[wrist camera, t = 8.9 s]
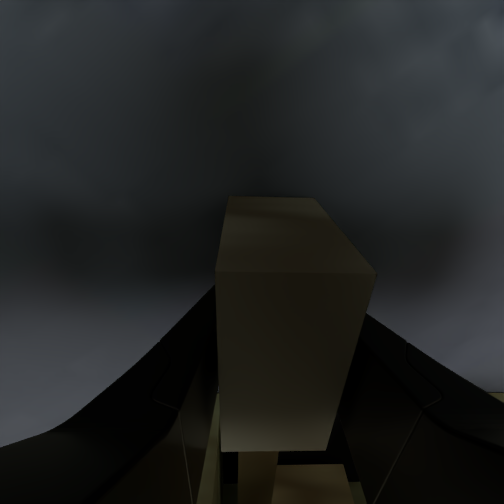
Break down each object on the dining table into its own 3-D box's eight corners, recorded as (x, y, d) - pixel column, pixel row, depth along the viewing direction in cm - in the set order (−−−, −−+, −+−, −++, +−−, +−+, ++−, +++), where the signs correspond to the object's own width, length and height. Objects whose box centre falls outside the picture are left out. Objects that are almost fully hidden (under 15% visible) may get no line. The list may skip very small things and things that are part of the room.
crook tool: (230, 480, 18) (226, 597, 14) (228, 195, 9) (215, 271, 5) (337, 478, 19) (366, 592, 14) (438, 201, 10) (607, 276, 5)
